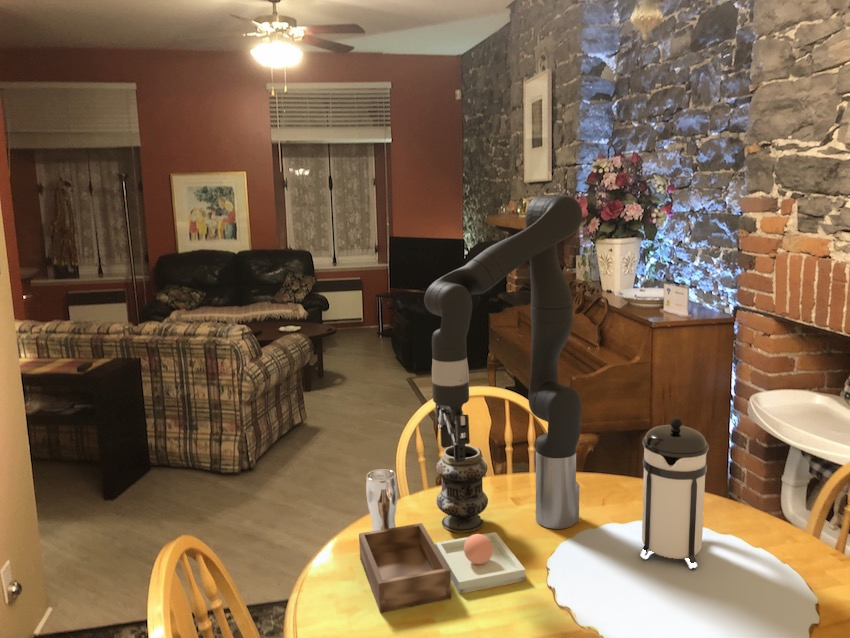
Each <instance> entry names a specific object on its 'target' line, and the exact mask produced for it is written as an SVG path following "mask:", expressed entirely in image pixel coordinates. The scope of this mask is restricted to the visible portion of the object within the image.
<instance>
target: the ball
mask: <svg viewBox="0 0 850 638" xmlns="http://www.w3.org/2000/svg"><path fill="white" fill-rule="evenodd" d="M482 534H483V533H482ZM482 534H481V533H475V534H472V535H470V536H468V537H469V538H468V539H467V540H466V542H465V544H464V553H465V556H466V558H467V559H468V560H469V561H470V562H472V563H474V564H483V563H485V562H487V561H488V560H489V559H490V558H491V556H492V553H493V546H492V543H491V541H490V540H489V538H487V537H486V536H485V535H482Z"/></svg>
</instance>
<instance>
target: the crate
mask: <svg viewBox="0 0 850 638" xmlns="http://www.w3.org/2000/svg"><path fill="white" fill-rule="evenodd" d="M358 539H359V540H358V541H359V560H360V562H361V565H362V568H363V570H364V574H365V576H366V579H367V581H368V584H369V587H370V589H371V592H372V594H373V597H374V600H375V603H376V606H377V608H378V612H379V613H381V614H382V613H386V612H392V611H395V610H401V609H405V608H407V609H408V608H411V607H416V606H421V605H422V606H423V605H426V604H431V603H437V602H443V601H445V600H451V599H452V587H451V586H452V584H451V583H452V581H451V578H450V569H449V567H448V566H447V564H446V562H445V561H444V559H443V557H442V556H441V554H440V552H439V551H438V549H437V547H436V546H435V543H434V540H433V538H432V537H431V535H430V533H429V532H428V530H427V529H426V527H425V525H424V523H423V522H420V523H413V524H408V525H403V526H396V527H395V528H389V529H383V530H377V531H371V530H370V531H367V532H365V531H364V532H359V533H358Z"/></svg>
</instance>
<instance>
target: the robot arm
mask: <svg viewBox="0 0 850 638" xmlns="http://www.w3.org/2000/svg"><path fill="white" fill-rule="evenodd" d="M582 221H583V209H582V206H581V204H580V202H579V201H578V200H577V199H575V198H574V197H572V196H568V195H563V194H560V195H559V194H555V195H554V194H553V195H552V194H549V195H547V194H546V195H545V194H544V195H542V194H541V195H538V196H537V195H536V196H535V197H534V198H533V199H532V200H531V201H530V202H529V203H528V205H527V208H526V213H525V228H524V229H523V230H521V231H520V232H519V231H518V232H517V233H516V234H513V235H512V236H509V237H507V238H504V239H502V240H500V241H498V242H496V243H494V244H492V245H490V246H489V247H486V248H485V249H484V250H483V251H482V252H480V253H478V254H477V255H476V256H475V257H474V258H472V259H471V260H469V261H468V262H467V263H466V264H465V265H463V266H461V267H459V268H456V269H453V270H452V271H451V272H448V273H447V274H445V275H443V276H441V277H439V278H438V279H436V280H435V281H433V282H432V283H431V284H430V285H429V286H428V288H427V289H426V291H425V294H424V297H423V302H424V306H425V308H426V309H427V311H428V312H430V313H431V314H433V315H435V316H439V317H441V321H440V322H441V323H440V327H439V328H438V329H436V330H435V331H434V332H433V333H432V336H431V351H432V352H431V354H432V357H431V358H432V363H431V364H432V365H431V383H432V384H431V388H432V391H431V392H432V402H434V404H435V424H436V426H437V425H438V430H439V431H440V432H439V434H440V435H439V437H440V438H439V440H440V447H442V448H444V449H446V448H447V447H450V446H452V442H453V446H454V460H455V461H456V462H462V461H465V445H470V443H471V441H470V423H469V420H470V419H469V418H470V417H469V414H464V411H463V409H462V406H463V405H464V404H467V403H468V402H469V401H470V389H469V388H470V381H469V380H470V379H469V377H470V376H469V364H468V356H467V354H468V353H467V335H468V333H469V328H470V324H471V323H470V322H471V318H472V313H473V299H472V296H473V295H482V294H485V293H486V292H488V291H489V290H490V289H492V288H494V286H496V285H497V284H498V283H499V282H501V281H502V280H503V279H504V278H505V277H507V276H509V274H511V273H512V272H513V271H515V270H516V269H518V268H519V267H520V266H522V265H523V264H525V263H526V262H528V261H529V269H530V270H529V273H530V274H529V275H530V322H531V323H530V325H531V326H530V327H531V350H530V351H531V361H530V362H531V363H530V364H531V365H530V372H529V373H530V374H529V384H528V385H529V386H528V407H529V410H530V411H531V413H532V415H534V416H535V417H536V418H538V419H540V420H542V421H545V422H547V433H544V434H541V435H538V437H537V438H536V440H535V521H536V523H538V525H540V526H541V527H545V528H548V529H551V530H552V529H553V530H561V529H563V530H564V529H569V528H570V527H572V526H574V524H578V523H580V483H578V481H577V445H578V444H579V441H580V436H581V425H582V424H581V423H582V399H581V396H580V394H579V392H578V391H577V389H575V388H573V387H571V386H568V385H565V384H563V383H560V382H559V371H558V369H559V359H560V356H561V355H560V354H561V353H562V350H563V348H564V347H565V345H566V343H567V341H568V340H569V337H570V335H571V332H572V329H573V323H574V304H573V303H574V301H573V294H572V290H571V288H570V285H569V283H568V281H567V279H566V277H565V275H564V271H563V270H562V268H561V266H560V262H559V258H558V244H559V243H561V242H562V241H564V240H566V239H567V238H570V237H572V235H574V234H575V233H576V232H577V231H578V230H579V228H580V226H581V225H582Z"/></svg>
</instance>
